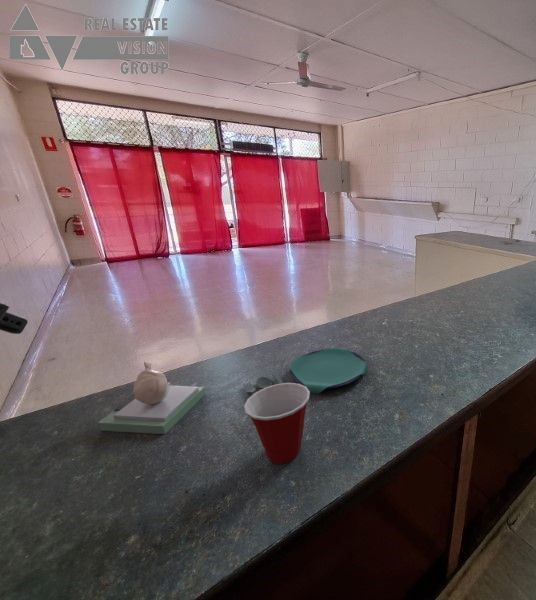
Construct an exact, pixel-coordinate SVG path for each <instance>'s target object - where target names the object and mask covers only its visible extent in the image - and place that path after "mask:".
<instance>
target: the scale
mask: <svg viewBox="0 0 536 600" xmlns="http://www.w3.org/2000/svg"><path fill="white" fill-rule="evenodd" d="M206 394H207V393H206V389H205V386H190V385H171V384H170V390H169V393H168V395H167V396H166V397H165V398H164V399H163V400H161V401H160V402H158V403H156V404H144V403H141V402H139V401H138V400H136V399H135V397H134V395H132V396H130V397H129V398H128V399H127V400H125V401H124V402H123V403H121V404H120V405H118V406H117V407H116V408H114V410H112V412H110V413H109V414H107V415H106V416H105V417H103V418H102V419H100V420H99V421H98V422H97V425H98V427H99V430H100V432H116V433H118V432H119V433H135V434H151V435H152V434H153V435H166V434H167V433H168V432H169V431H170V430H171V429H172V428H173V427H174V426H175V425H176V424H178V422H179V421H180V420H181V419H182V418H183V417H185V415H186V414H187V413H188V412H189V411H190V410H191V409H193V407H194V406H196V405H197V403H198V402H199V401H201V400H202V399H203V398H204V397H205V396H206Z"/></svg>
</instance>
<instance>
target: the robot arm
mask: <svg viewBox="0 0 536 600" xmlns="http://www.w3.org/2000/svg"><path fill="white" fill-rule="evenodd" d="M9 309H10V306H9V305H7V304H4V303H1V302H0V331H2V332H6V333H9V334H11V335H12V334H13V335H19V334H21V333H23V331H24V329H25V328H26V326H27V325H28V319H26V318H23V317H21V316H19V315H15V314H14V313H13V314H12V313H10V312H8V311H9Z"/></svg>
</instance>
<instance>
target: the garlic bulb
mask: <svg viewBox="0 0 536 600" xmlns="http://www.w3.org/2000/svg"><path fill="white" fill-rule="evenodd" d="M152 365H153V364H152V363H149V362H145V361H144V362H143V366H144V370H142V371H141V372H140V373H138V375H137V377H136V380H135V382H134V385H133V390H132V392H133V396H134V397H135V399H136V400H138V401H139V402H141V403H144V404H156V403H158V402H160V401H161V400H163V399H164V398H165V397H166V396H167V395H168V393H169V390H170V385H171V382H170V379H169V378H167V377H166V375H165V374H164V373H162V372H160V371H156V370H154V369H153V368H152Z"/></svg>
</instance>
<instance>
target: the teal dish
mask: <svg viewBox="0 0 536 600" xmlns="http://www.w3.org/2000/svg"><path fill="white" fill-rule="evenodd" d="M368 368H369V365H368V363H367V362H366V360H365V358H363V357H362V356H361V354H358V353H356V352H354V351H352V350H349V348H345V347H344V348H343V347H327V348H323V349H319V350H315V351H311V352H309V353H306V354H303V355H301V356H298V357H297V358H296V359H294V361H293V362H292V363H291V364H290V366H289V367H288V369H289V375H290V378H291V379H292V380H293V381H294V382H295V383H297V384H301V385H303V386H305V387H307V389H308V390H309V391H310V393H312V394H315V395H319V394H321V393H322V392H323V391H324V390H330V389H338V388H341V387H344V386H347V385H350V384H352V383H353V382H355V381H358V380H359V379H360V378H361V377H362V376H363V375H366V373H367V371H368ZM271 375H272V377H273V378H274V379H275V381H276V382H277V384H282V383H284V382H283V380H282V379H281V378H280V376H279V375H278V374H276V373H271ZM255 382H256V387H258V388H260V390H262V389H264V388H266V387H269V386H272V385H273V383H272V379H270V378H269V377H268V376H267V377H266V376H260V377H258V378H257V379H256V381H255ZM242 385H243V387H244V389H245V392H246V395H248V396H250V397H251V396H252V395H253V394H254V393H256V392H258V391H257V388H256V387H254V385H253V384H252V383H251V382H250V381H248V382H245V383H243V384H242Z"/></svg>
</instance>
